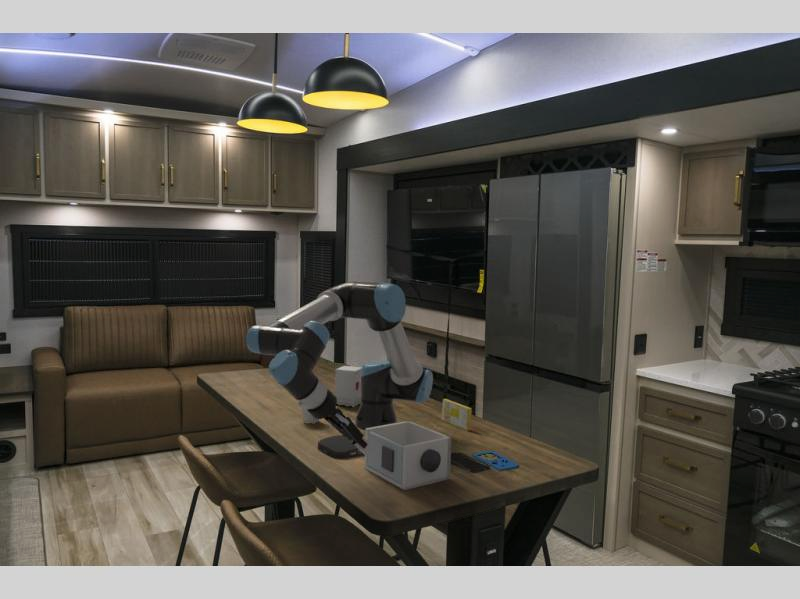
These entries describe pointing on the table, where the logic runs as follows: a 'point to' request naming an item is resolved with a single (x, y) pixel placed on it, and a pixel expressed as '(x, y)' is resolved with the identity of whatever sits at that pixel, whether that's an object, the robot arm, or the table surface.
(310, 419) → the dixie cup
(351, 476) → the table surface
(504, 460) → the handheld gaming device
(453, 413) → the candy box
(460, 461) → the phone
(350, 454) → the media streaming box
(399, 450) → the side door
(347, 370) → the supplement box
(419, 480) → the open box
